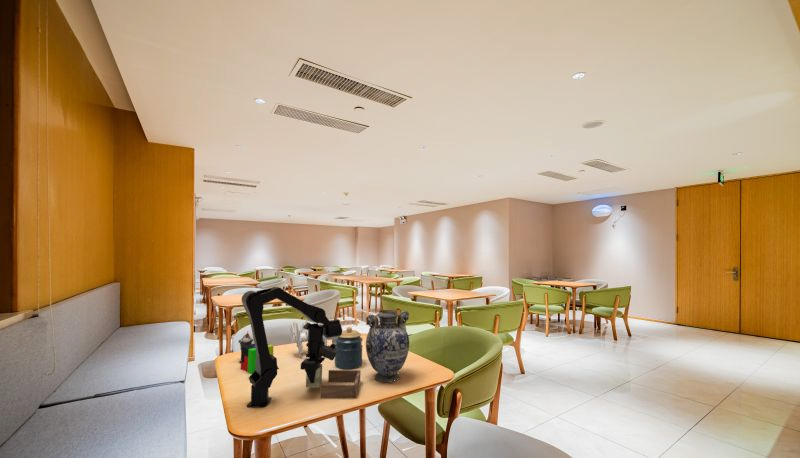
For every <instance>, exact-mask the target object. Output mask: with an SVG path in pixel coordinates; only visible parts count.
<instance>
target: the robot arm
mask: <svg viewBox="0 0 800 458" xmlns="http://www.w3.org/2000/svg"><path fill="white" fill-rule="evenodd" d="M274 300H279V301H280V302H282V303H284V304H285V305H287V306H288V307H291V308H293V309H295V310H297V311H298V312H300V314H301V315H303V316H304V317H305V318H306V319H308V320H309V321H310V322H309V321H308V322H309V323H308V322H307V323H306V325H304V326H303V328H304V329H306V330H308V341H307V343H306V344H305V345H306V347H307V351H306V352H307V353H306V354H305V359H303V360H302V362H301V363H300V370H304V371H305V373H306V374H307V376H308V378H309V380H310V382H311V383H314V380H315V375H316V370H317V369H318V368H319V367H320V365H319V364H322V363H323V362H324V361H325V359H328V360H330V361H335V356H336V353H337V349H336V345H335V344H333V343H332V342H331V344H330V345H327V346H326V345H325V342H324V341H323V335H324V336H325V337H326V338H331V337H337V336H341V334H342V331H343V328H342V324H341V320H340V319H337V318H336V319H330V320H328V318H329V317H327V314H326V310H325V309H323V308H321V307H319V306H315V305H312V304H310V303H309V304H308V303H307V302H305V301H303V300H302V299H300V298H298V297H296V296H294V295H293V294H291V293H289V292H287V291H285V290H284V289H283V288H281V287H279V286H272V287H269V288H266V289H260V290H256V291H255V290H248V291H246V292H245V293H243V295H242V296H241V304H242V305H243V308H244V310H245V312H246V314H247V316H248V318H249V322H250V328H251V332H252V333H251V334H252V339H253V344H255V349H256V354H257V357H256V370H255V371H254V372H253V373H252V374H250V375H249V376H248V380H249V383H250V384H251V385H250V387H251V388H250V401H249V402H248V403H247V404H246V407H247V408H265V407H266V406H268V404H269V403H270V402H271V401H272V399H273V398H272V397H270V396H269V393H270V392H269V390H270V389H269V388H271V386H272V385H273V381H274V379H276V377H277V376H278V370H279V369H280V368H279V367H278V360H277V357H276V356H275V355H274V354H273V355H272V354H271V355H270V353H269V348H268V344H269V343H268V339H267V335H266V328H265V323H264V318H263V313H264V305H265V304H267V303H270V302H272V301H274ZM311 322H313V323H311ZM314 322H315V324H314ZM317 323H321V324H323V325H318V324H317ZM306 374H305V375H306Z"/></svg>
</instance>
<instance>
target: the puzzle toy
mask: <svg viewBox="0 0 800 458" xmlns="http://www.w3.org/2000/svg"><path fill="white" fill-rule="evenodd" d="M268 348H269V353H270V355H271V354H272V355H273V356H274V345H272V344H270V343H268ZM256 357H257V354H256V349H255V344H254V343H252V344H250V345H246V346H241V347H240V361H241V363H240V370H243V371H244V372H245V373H248V374H250V375H251V374H252V373H253V372H254V371H255V370H256Z"/></svg>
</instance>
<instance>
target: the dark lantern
mask: <svg viewBox="0 0 800 458" xmlns="http://www.w3.org/2000/svg"><path fill="white" fill-rule="evenodd" d="M253 342H254V339H253V337H251V335H250V333H248V332H247V333H245V334H243V336H242V338H241V339H239V340H238V343H239V346H240V348H241V346H246V345H250V344H253ZM239 364H241V360H240V361H239Z"/></svg>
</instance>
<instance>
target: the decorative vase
mask: <svg viewBox="0 0 800 458" xmlns="http://www.w3.org/2000/svg"><path fill="white" fill-rule="evenodd" d="M409 316H410V313H409V311H408V310H402V311H401V312H400V313H398V311H397V310H393V309H382V310H379V311H378V313H377V314H376V315H374V314H369V315H367V316H366V317H365V321H366V322H365V325H366V326H368V327H370V328H369V329H368V333H367V334H366V339H365V350H366V351H365V352H366V356H367V359H368V361H369V364H370V366H371V367H372V368H373V370H374V371H375V372H377V373H375V376H374V379H375V380H376V381H378V382H380V381H381V383H391V382H390V381H393V382H395V381H394V380H397V379H398V378H399V376H400V374H399V373H398V372H399V371H400V370H401V369H402V368H403V366H404V365H405V362H406V360H407V358H408V355H409V350H410V337H409V334H408V332H407V327H406V326H407V325H406V323H407V321H408V320H409V319H410V318H409ZM399 379H400V378H399ZM399 379H398V380H399ZM398 380H397V381H398Z"/></svg>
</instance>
